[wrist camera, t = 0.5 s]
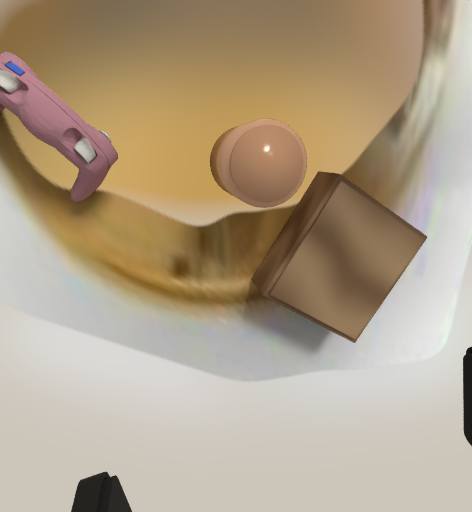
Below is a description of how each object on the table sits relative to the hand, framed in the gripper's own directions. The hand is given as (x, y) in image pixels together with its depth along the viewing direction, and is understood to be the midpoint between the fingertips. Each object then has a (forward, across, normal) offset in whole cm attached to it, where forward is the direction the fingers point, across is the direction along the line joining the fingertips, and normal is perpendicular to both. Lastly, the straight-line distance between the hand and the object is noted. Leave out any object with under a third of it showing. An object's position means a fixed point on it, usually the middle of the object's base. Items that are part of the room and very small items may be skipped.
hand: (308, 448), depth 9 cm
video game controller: (+25, +9, -11) cm, 29 cm away
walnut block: (+25, -12, +5) cm, 28 cm away
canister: (+25, -5, -6) cm, 26 cm away
